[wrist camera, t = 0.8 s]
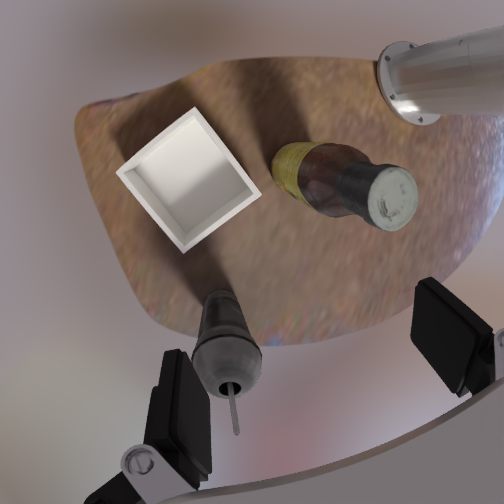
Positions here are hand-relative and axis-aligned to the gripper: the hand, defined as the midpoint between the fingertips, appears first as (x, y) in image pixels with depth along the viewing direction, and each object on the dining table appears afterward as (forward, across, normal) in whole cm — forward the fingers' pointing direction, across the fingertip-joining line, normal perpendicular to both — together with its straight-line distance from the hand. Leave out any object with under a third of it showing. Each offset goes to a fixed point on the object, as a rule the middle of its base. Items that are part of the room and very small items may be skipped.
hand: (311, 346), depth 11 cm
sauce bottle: (+26, -7, -2) cm, 27 cm away
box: (+26, +6, -4) cm, 27 cm away
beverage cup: (+26, +7, +13) cm, 30 cm away
